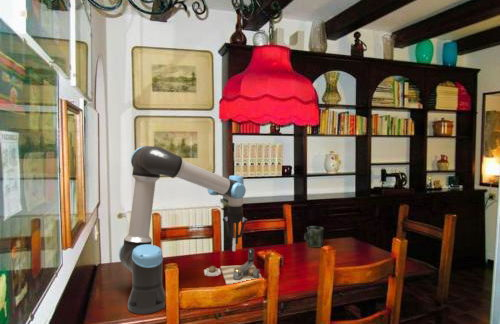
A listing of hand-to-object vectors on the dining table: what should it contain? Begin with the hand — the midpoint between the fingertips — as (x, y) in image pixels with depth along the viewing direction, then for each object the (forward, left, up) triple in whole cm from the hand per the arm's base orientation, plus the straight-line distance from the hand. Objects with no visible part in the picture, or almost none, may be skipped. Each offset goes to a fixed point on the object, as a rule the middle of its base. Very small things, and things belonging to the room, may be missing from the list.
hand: (234, 250), depth 181 cm
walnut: (-13, -7, -9) cm, 17 cm away
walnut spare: (-4, +12, -10) cm, 16 cm away
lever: (-9, -4, -9) cm, 14 cm away
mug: (+36, -58, -11) cm, 69 cm away
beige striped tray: (-8, -2, -11) cm, 14 cm away
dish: (-4, +12, -11) cm, 16 cm away
